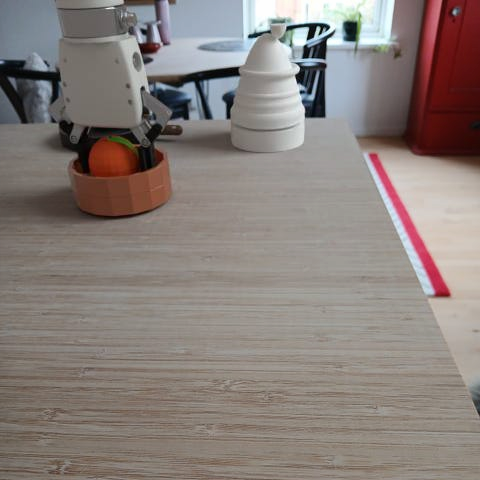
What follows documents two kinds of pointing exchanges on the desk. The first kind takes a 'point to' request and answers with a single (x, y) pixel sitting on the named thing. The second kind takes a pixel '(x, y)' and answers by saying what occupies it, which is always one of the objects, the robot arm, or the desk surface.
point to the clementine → (113, 157)
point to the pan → (116, 134)
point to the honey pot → (268, 99)
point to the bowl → (121, 189)
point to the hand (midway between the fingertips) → (119, 171)
